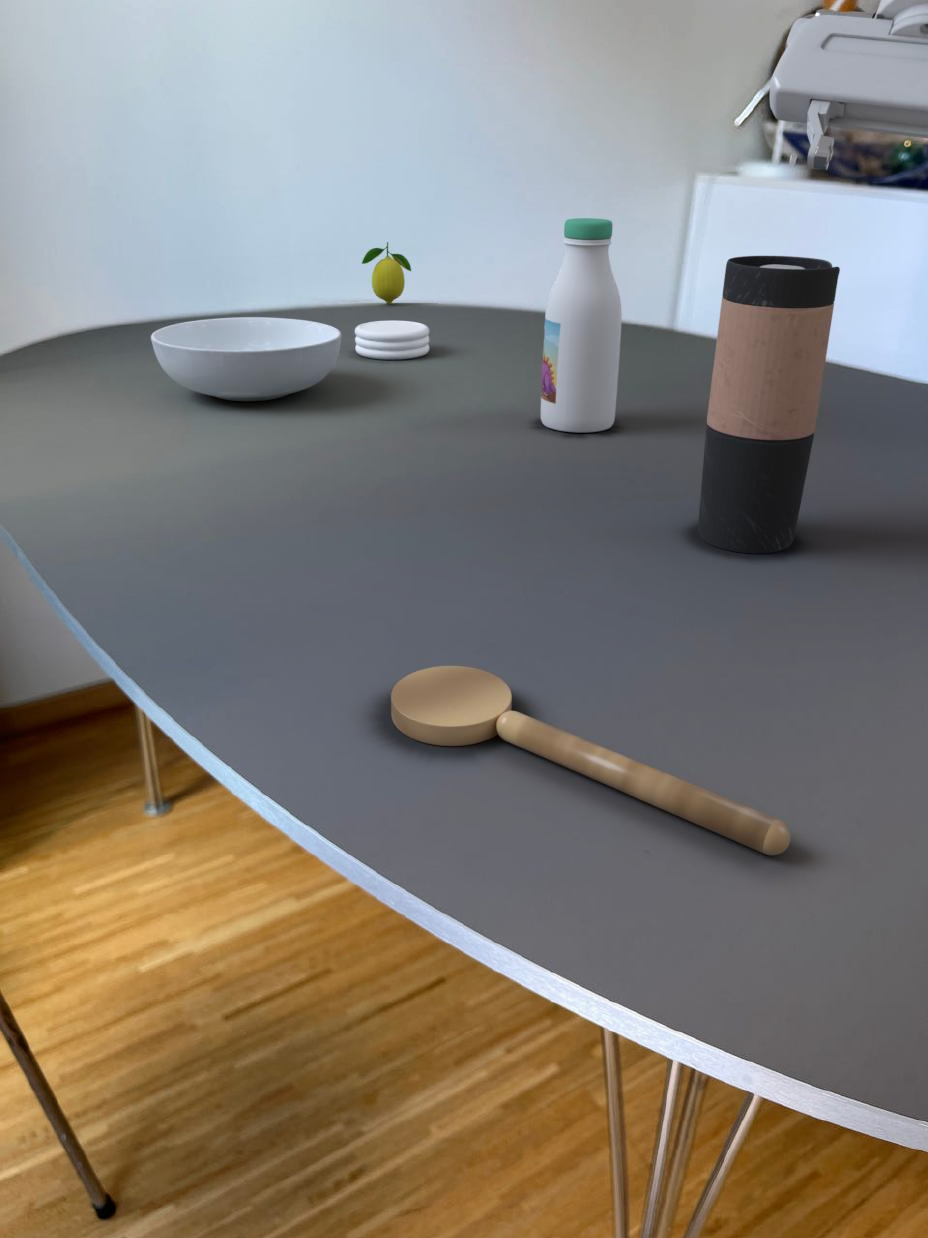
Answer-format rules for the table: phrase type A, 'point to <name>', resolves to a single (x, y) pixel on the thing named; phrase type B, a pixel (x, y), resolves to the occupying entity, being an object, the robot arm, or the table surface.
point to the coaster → (392, 340)
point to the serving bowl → (247, 355)
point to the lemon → (387, 274)
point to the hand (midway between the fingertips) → (881, 172)
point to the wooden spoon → (563, 750)
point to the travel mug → (764, 399)
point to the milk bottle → (582, 333)
